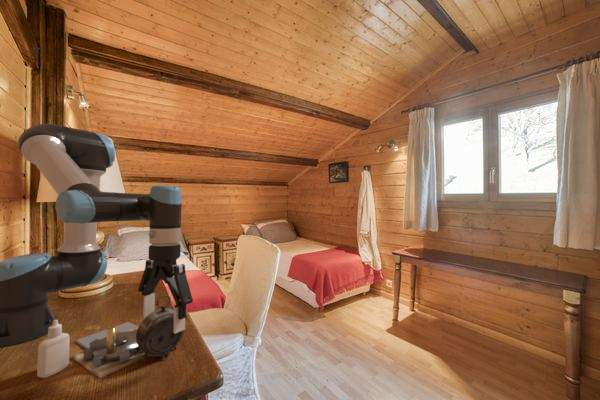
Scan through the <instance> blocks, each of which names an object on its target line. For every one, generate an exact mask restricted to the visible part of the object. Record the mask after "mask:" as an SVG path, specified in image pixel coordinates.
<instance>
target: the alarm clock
mask: <svg viewBox="0 0 600 400" xmlns="http://www.w3.org/2000/svg"><path fill="white" fill-rule="evenodd" d="M163 297H167V298H168V302H167V304H163V305H162V306H160V305H159V301H160V300H161V298H163ZM170 302H171V297H170V296H169V295H168V294H163V295H160V296H159V297H158V299H157V301H156V306H157V307H158V308H159V309H156V310H155V311H154V312H152V313H151V314H149V315H148V316H147V317H146V318H145V319H144V320H143V319H142V321H141V322H140V324H139V326H138V327H139V328H138V330H137V333H136V341H137V344H138V346H139V347H140V348H141V349H142V350H143V352H144V353H145V354H144V356H143V358H142V359H140V360H139V361H140V363H143V362H144V360H145V359H146V358H147V357H148V356H150V357H159V356H160V357H161V358H162V361H165V360H166V354H167V353H169V352H170V351H172V350H177V348H178V347H177V345H178V344H179V343H180V342H181V340H182V337H183V335H184V334H185V330H182V331H180V332H178V333H176V334H175V333H173V330H174V309H172V308H168V305H169V304H170ZM166 307H167V308H166ZM147 355H148V356H147Z"/></svg>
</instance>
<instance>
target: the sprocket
mask: <svg viewBox="0 0 600 400" xmlns="http://www.w3.org/2000/svg"><path fill="white" fill-rule="evenodd" d="M106 330H107V337H105V338H103V339H95V340H94V341H92V342H91V343H90V349H88V350H86V349H84V350H85V351H83V350H82V351H83V360H84V361H85V360H88V359H91V358H92V359H93V365H97V366H101V365H102V364H104V363H105V362H112V361H117V360H119V362H124V361H127V360H129V357H130V356H132V355H134V354H136V353H138V352H143V350H142V349H141V348H140V347H139V346H138V344H137V341H136V333H137V330H138V329H134V330H133V331H128V332H121V333H120V331H117V332H116V327H115V326H110V327H107V328H106Z"/></svg>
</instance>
